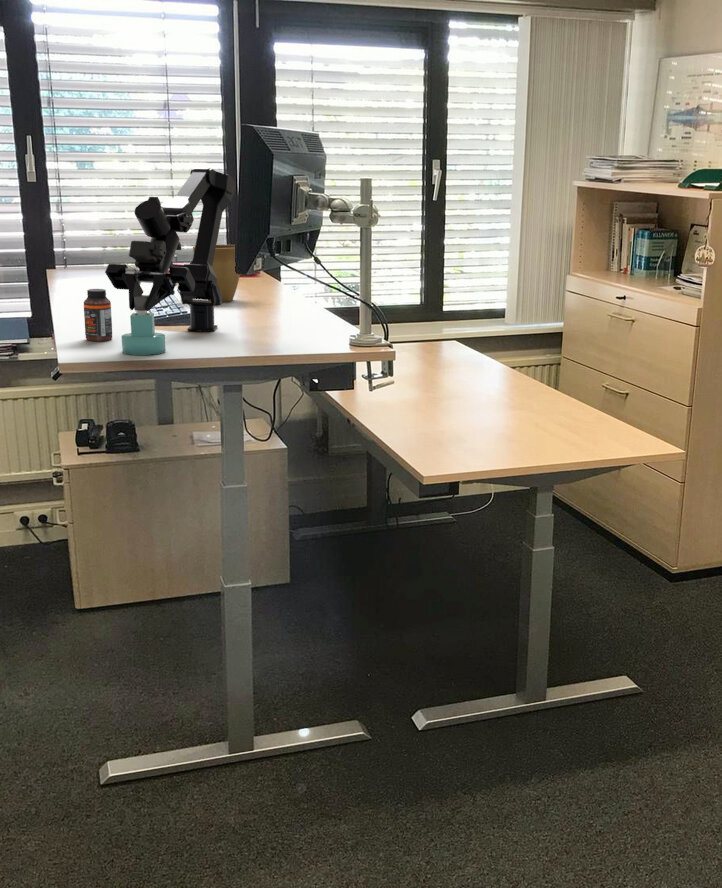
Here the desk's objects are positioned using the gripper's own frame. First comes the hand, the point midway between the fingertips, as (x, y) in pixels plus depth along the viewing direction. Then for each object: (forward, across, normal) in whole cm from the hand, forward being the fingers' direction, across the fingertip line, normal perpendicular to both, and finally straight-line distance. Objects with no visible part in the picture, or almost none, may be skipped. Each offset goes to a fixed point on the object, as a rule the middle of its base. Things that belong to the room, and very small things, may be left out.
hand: (138, 309), depth 193 cm
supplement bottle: (-1, -16, +14) cm, 21 cm away
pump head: (+3, 0, +5) cm, 6 cm away
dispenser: (+5, 0, +8) cm, 9 cm away
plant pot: (-52, -16, +64) cm, 83 cm away
